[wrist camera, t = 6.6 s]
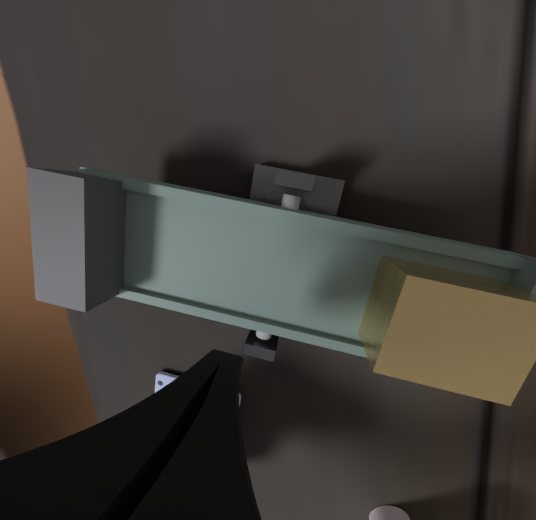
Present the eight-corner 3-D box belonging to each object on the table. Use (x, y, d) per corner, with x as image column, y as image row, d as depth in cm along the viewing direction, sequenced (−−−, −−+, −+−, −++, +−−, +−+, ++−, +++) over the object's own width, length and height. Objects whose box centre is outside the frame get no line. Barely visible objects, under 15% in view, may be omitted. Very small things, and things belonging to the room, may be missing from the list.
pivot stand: (304, 333, 21) (303, 374, 16) (232, 316, 21) (212, 350, 17) (343, 181, 17) (356, 176, 13) (257, 165, 18) (241, 155, 13)
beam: (456, 377, 16) (506, 437, 12) (95, 289, 18) (36, 315, 14) (520, 239, 14) (609, 258, 10) (95, 157, 16) (24, 144, 12)
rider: (463, 357, 15) (510, 406, 11) (357, 332, 15) (372, 371, 12) (498, 279, 13) (564, 308, 10) (382, 255, 14) (407, 275, 10)
